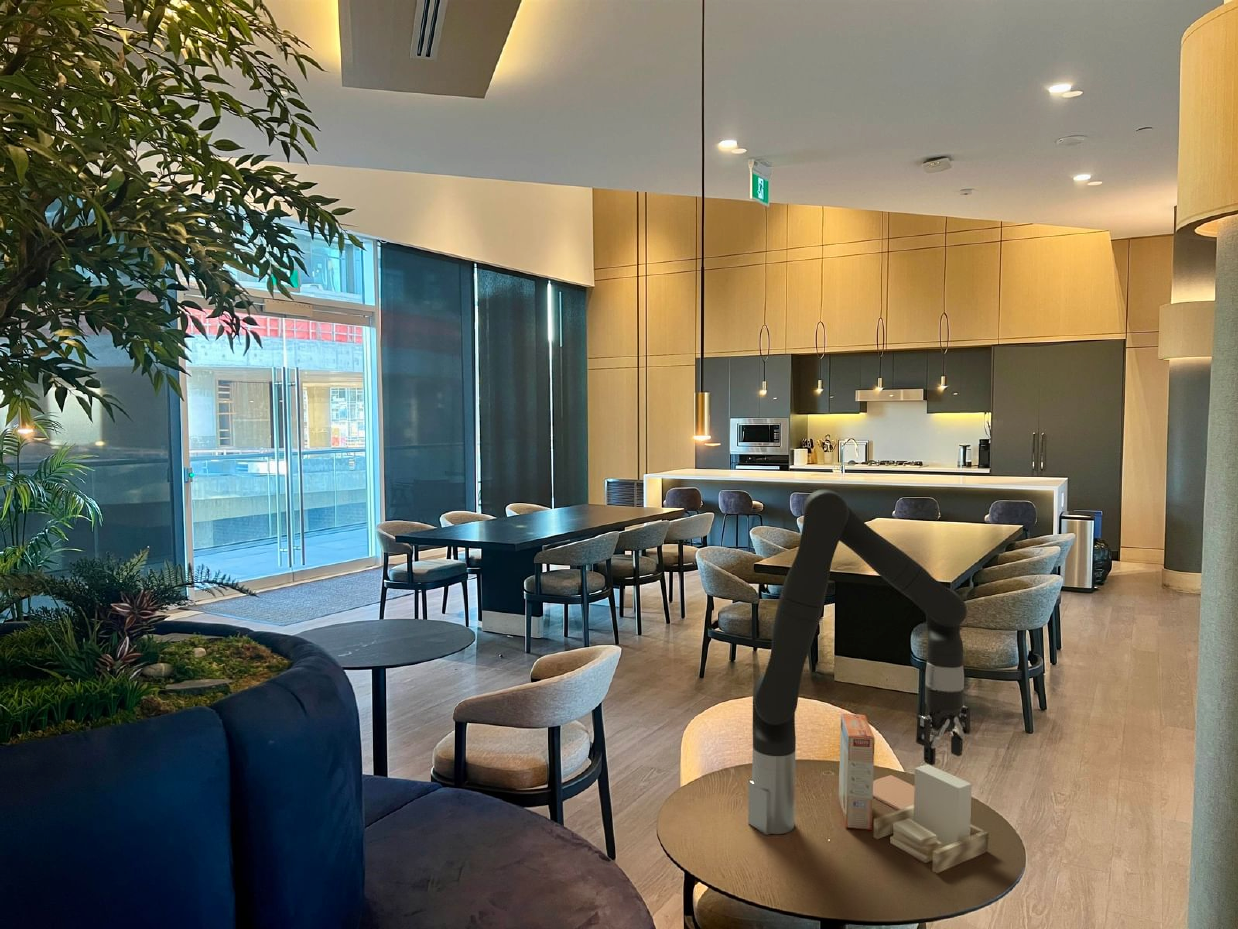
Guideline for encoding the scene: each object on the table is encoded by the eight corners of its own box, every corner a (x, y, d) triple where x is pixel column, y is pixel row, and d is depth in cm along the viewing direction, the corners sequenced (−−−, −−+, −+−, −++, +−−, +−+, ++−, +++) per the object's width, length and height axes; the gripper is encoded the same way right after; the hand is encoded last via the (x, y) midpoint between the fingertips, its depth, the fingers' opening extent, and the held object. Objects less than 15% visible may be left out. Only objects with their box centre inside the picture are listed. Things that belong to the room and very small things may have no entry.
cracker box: (873, 831, 176) (875, 737, 175) (845, 829, 177) (846, 735, 176) (864, 801, 190) (866, 713, 189) (837, 799, 191) (839, 712, 190)
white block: (957, 854, 167) (958, 788, 166) (913, 831, 176) (914, 768, 176) (969, 849, 169) (971, 783, 168) (925, 826, 178) (927, 764, 178)
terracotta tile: (910, 816, 183) (910, 814, 183) (856, 788, 196) (856, 786, 196) (945, 804, 189) (945, 801, 189) (890, 777, 202) (890, 775, 202)
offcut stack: (925, 864, 164) (926, 843, 163) (889, 844, 172) (890, 823, 171) (942, 857, 166) (943, 836, 166) (907, 837, 174) (907, 817, 174)
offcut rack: (936, 873, 160) (937, 853, 160) (873, 837, 174) (874, 818, 174) (988, 851, 168) (988, 832, 168) (923, 818, 182) (924, 801, 182)
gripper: (951, 673, 178) (950, 746, 179) (906, 685, 170) (905, 760, 171) (981, 683, 171) (980, 758, 172) (937, 695, 164) (935, 773, 165)
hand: (943, 759), depth 172 cm, fingers open, 8 cm apart
